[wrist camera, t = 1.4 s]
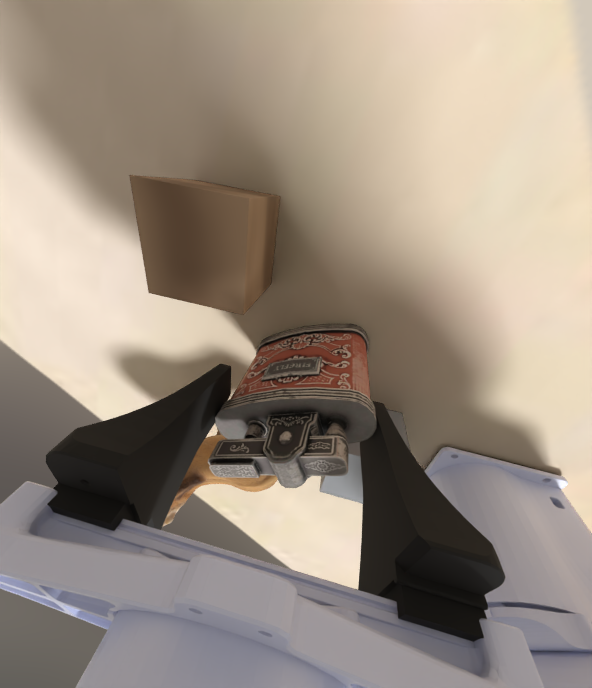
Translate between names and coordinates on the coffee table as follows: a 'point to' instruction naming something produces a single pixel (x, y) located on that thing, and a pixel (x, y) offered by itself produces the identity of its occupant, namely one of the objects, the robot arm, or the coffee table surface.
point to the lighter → (298, 407)
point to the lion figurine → (212, 477)
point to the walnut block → (205, 241)
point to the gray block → (356, 468)
